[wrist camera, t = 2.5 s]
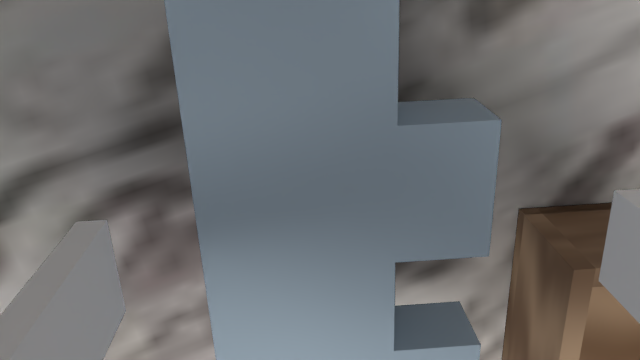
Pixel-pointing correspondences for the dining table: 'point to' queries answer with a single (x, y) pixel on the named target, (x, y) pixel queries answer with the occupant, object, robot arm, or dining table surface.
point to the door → (324, 180)
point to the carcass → (565, 290)
